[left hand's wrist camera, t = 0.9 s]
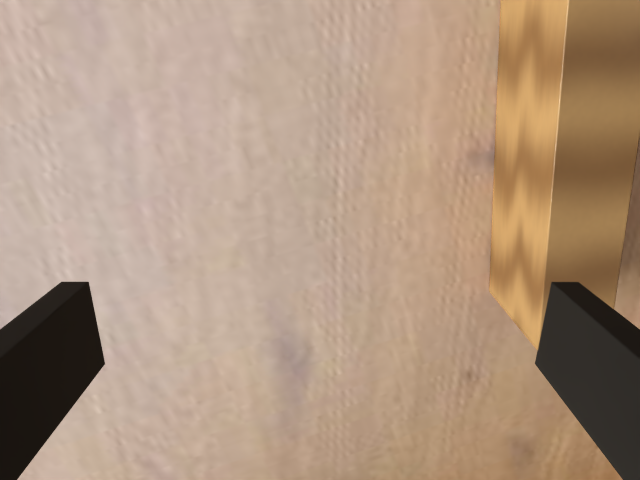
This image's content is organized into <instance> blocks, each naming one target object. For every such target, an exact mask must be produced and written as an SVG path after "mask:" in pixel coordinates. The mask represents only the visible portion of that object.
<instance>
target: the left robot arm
mask: <svg viewBox="0 0 640 480" xmlns="http://www.w3.org/2000/svg"><path fill="white" fill-rule="evenodd" d="M104 364H105V362H104V357H103V352H102V347H101V342H100V337H99V332H98V327H97V322H96V317H95V312H94V307H93V302H92V297H91V292H90V287H89V282H61V283H59V284H58V285H57V286H56V287H54V288H53V289H52V290H50V291H49V292H48V293H47V294H45V295H44V296H43V297H41V298H40V299H39V300H38V301H36V302H35V303H34V304H32V305H31V306H30V307H29V308H27V309H26V310H25V311H23V312H22V313H21V314H20V315H18V316H17V317H16V318H15V319H13V320H12V321H11V322H9V323H8V324H7V325H6V326H4V327H3V328H2V329H0V480H17V479H18V478H19V476H20V475H21V474H22V472H23V471H24V470H25V468H26V467H27V466H28V464H29V463H30V462H31V460H32V459H33V458H34V457H35V455H36V454H37V453H38V451H39V450H40V449H41V447H42V446H43V445H44V443H45V442H46V441H47V439H48V438H49V437H50V435H51V434H52V433H53V432H54V430H55V429H56V428H57V426H58V425H59V424H60V422H61V421H62V420H63V418H64V417H65V416H66V414H67V413H68V412H69V410H70V409H71V408H72V406H73V405H74V404H75V403H76V401H77V400H78V399H79V397H80V396H81V395H82V393H83V392H84V391H85V389H86V388H87V387H88V385H89V384H90V383H91V381H92V380H93V379H94V378H95V376H96V375H97V374H98V372H99V371H100V370H101V368H102V367H103V366H104ZM535 364H536V366H537V367H538V368H539V370H540V371H541V372H542V374H543V375H544V376H545V378H546V379H547V380H548V381H549V383H550V384H551V385H552V387H553V388H554V389H555V391H556V392H557V393H558V395H559V396H560V397H561V399H562V400H563V401H564V403H565V404H566V405H567V407H568V408H569V409H570V410H571V412H572V413H573V414H574V416H575V417H576V418H577V420H578V421H579V422H580V424H581V425H582V426H583V428H584V429H585V430H586V432H587V433H588V434H589V435H590V437H591V438H592V439H593V441H594V442H595V443H596V445H597V446H598V447H599V449H600V450H601V451H602V453H603V454H604V455H605V457H606V458H607V459H608V460H609V462H610V463H611V464H612V466H613V467H614V468H615V470H616V471H617V472H618V474H619V475H620V476H621V478H622V479H623V480H640V329H638V328H637V327H636V326H634V325H633V324H632V323H631V322H629V321H628V320H627V319H625V318H624V317H623V316H622V315H620V314H619V313H618V312H617V311H615V310H614V309H613V308H611V307H610V306H609V305H608V304H606V303H605V302H604V301H602V300H601V299H600V298H599V297H597V296H596V295H595V294H593V293H592V292H591V291H590V290H588V289H587V288H586V287H584V286H583V285H582V284H581V283H579V282H551V287H550V292H549V297H548V302H547V307H546V312H545V317H544V322H543V327H542V332H541V337H540V342H539V347H538V352H537V357H536V362H535Z"/></svg>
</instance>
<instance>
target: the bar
mask: <svg viewBox="0 0 640 480" xmlns="http://www.w3.org/2000/svg"><path fill="white" fill-rule="evenodd" d="M639 137H640V0H501V7H500V32H499V58H498V83H497V108H496V133H495V159H494V184H493V209H492V235H491V260H490V285H489V292H490V293H491V294H492V295H493V297H494V298H495V299H496V300H497V302H498V303H499V304H500V305H501V306H502V308H503V309H504V310H505V311H506V313H507V314H508V315H509V316H510V318H511V319H512V320H513V321H514V322H515V324H516V325H517V326H518V327H519V329H520V330H521V331H522V332H523V333H524V335H525V336H526V337H527V338H528V340H529V341H530V342H531V343H532V345H533V346H534V347H535V348H536V349H537V351H538V347H539V342H540V337H541V332H542V327H543V322H544V317H545V312H546V307H547V302H548V297H549V292H550V287H551V282H579V283H581V284H582V285H583V286H584V287H586V288H587V289H588V290H590V291H591V292H592V293H593V294H595V295H596V296H597V297H599V298H600V299H601V300H602V301H604V302H605V303H606V304H608V305H609V306H610V307H611V308H613V309H614V305H615V298H616V292H617V285H618V278H619V272H620V265H621V258H622V251H623V245H624V238H625V231H626V225H627V218H628V211H629V204H630V198H631V191H632V184H633V178H634V171H635V164H636V157H637V151H638V144H639Z"/></svg>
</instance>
